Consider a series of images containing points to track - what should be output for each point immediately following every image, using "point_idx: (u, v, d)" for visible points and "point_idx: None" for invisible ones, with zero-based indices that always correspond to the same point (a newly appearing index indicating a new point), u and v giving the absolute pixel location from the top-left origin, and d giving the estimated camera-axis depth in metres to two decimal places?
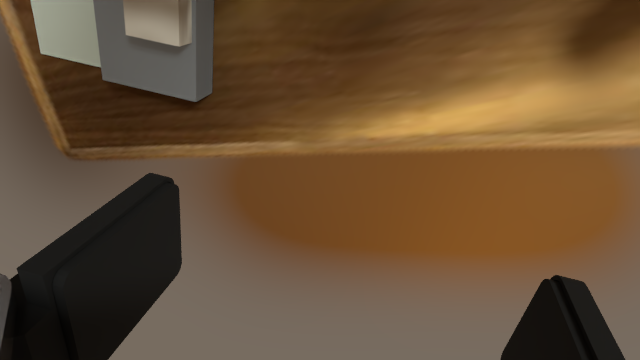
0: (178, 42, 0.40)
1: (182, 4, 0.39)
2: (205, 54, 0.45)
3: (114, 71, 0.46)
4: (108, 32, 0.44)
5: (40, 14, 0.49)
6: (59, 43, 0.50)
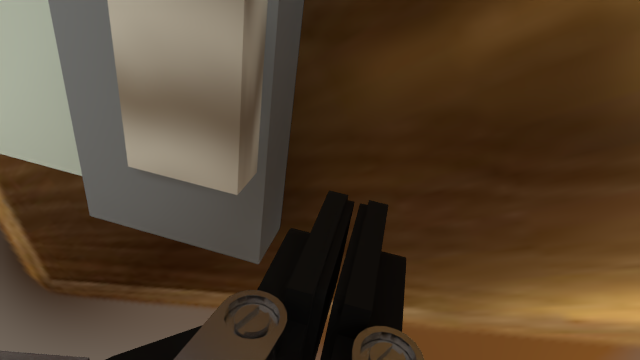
0: (236, 187, 0.19)
1: (247, 114, 0.18)
2: (276, 180, 0.24)
3: (110, 205, 0.26)
4: (96, 144, 0.23)
5: None
6: (20, 138, 0.30)
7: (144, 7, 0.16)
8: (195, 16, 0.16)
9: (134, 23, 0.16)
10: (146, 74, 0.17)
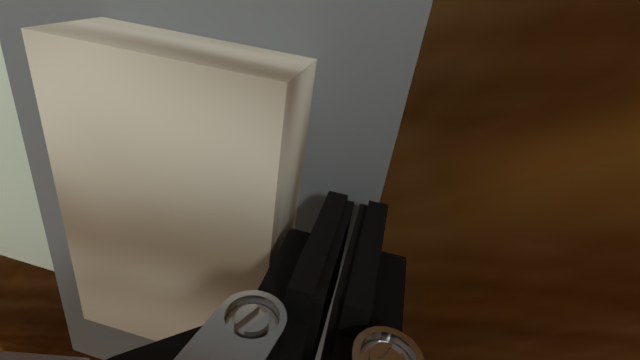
0: None
1: None
2: None
3: (102, 341, 0.18)
4: None
5: None
6: None
7: (99, 95, 0.09)
8: (192, 115, 0.09)
9: (82, 120, 0.09)
10: (107, 199, 0.10)
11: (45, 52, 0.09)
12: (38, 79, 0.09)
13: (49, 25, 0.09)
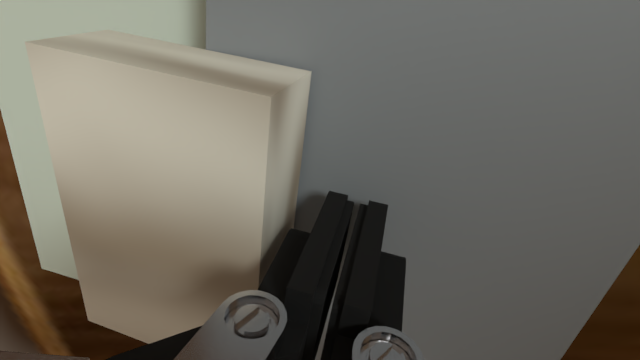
0: None
1: None
2: None
3: None
4: None
5: (41, 201, 0.20)
6: None
7: (96, 106, 0.09)
8: (182, 127, 0.09)
9: (82, 131, 0.10)
10: (106, 206, 0.10)
11: (47, 65, 0.09)
12: (41, 89, 0.09)
13: (53, 39, 0.09)
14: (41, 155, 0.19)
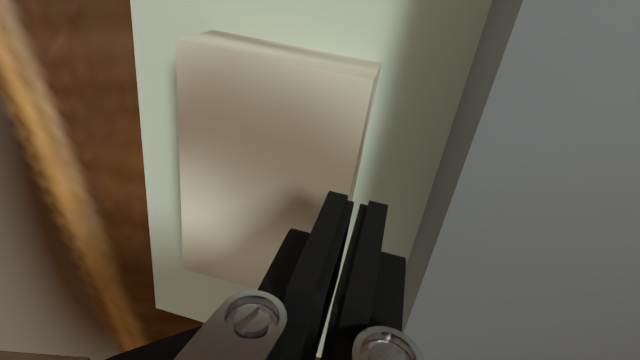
0: None
1: None
2: None
3: None
4: None
5: (170, 241, 0.19)
6: (208, 298, 0.20)
7: None
8: None
9: None
10: None
11: None
12: None
13: (376, 65, 0.13)
14: (180, 196, 0.18)
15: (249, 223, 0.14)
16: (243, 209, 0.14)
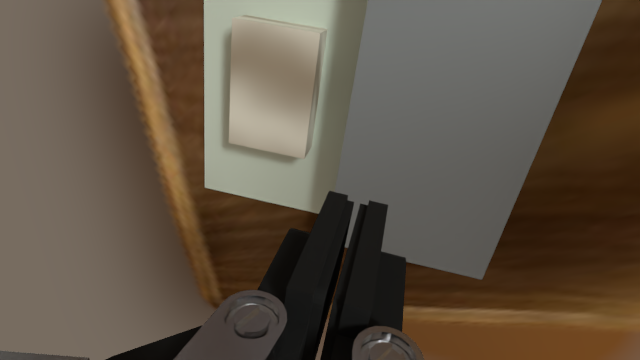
0: None
1: None
2: None
3: (350, 233, 0.30)
4: (357, 183, 0.28)
5: (216, 139, 0.33)
6: (237, 176, 0.35)
7: None
8: None
9: None
10: None
11: None
12: (323, 44, 0.28)
13: (324, 29, 0.27)
14: (224, 109, 0.32)
15: (264, 110, 0.29)
16: (262, 103, 0.28)
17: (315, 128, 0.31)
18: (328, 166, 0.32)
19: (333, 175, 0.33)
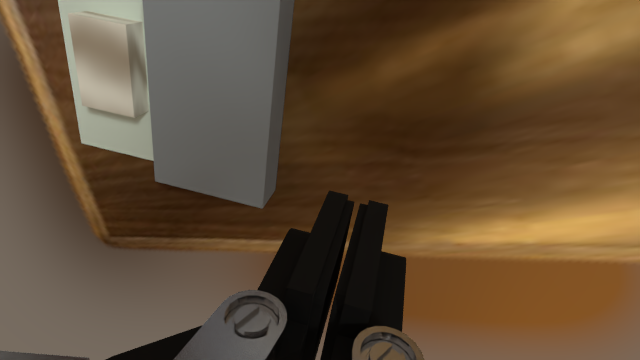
0: None
1: None
2: (273, 156, 0.40)
3: (169, 174, 0.41)
4: (165, 134, 0.39)
5: None
6: (102, 133, 0.45)
7: None
8: None
9: None
10: None
11: None
12: (141, 33, 0.39)
13: (137, 22, 0.38)
14: None
15: (101, 81, 0.39)
16: (98, 75, 0.39)
17: (148, 96, 0.42)
18: None
19: None
